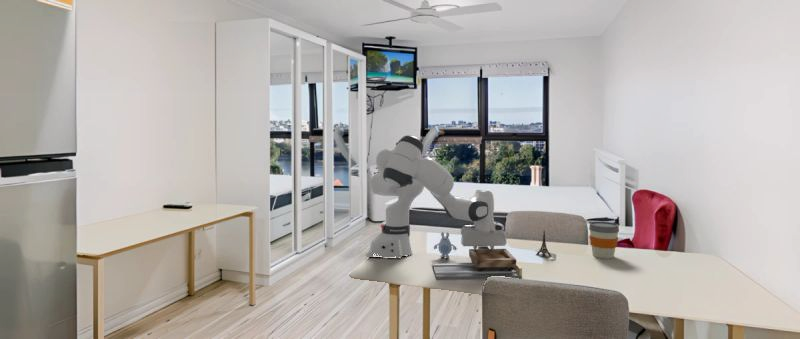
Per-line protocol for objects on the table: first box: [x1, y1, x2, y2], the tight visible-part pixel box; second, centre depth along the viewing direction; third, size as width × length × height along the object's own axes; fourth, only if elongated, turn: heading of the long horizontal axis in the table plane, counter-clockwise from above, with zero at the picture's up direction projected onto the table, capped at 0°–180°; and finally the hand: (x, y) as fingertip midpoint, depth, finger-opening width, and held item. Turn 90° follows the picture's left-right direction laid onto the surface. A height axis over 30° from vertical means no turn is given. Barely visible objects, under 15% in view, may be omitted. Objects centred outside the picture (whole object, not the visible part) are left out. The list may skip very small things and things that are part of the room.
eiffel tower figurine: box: [535, 230, 557, 262], centre depth 201 cm, size 15×10×13 cm
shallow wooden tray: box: [468, 248, 517, 272], centre depth 179 cm, size 16×16×6 cm
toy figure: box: [433, 231, 458, 259], centre depth 199 cm, size 11×6×12 cm, turn 77°
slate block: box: [477, 246, 490, 249], centre depth 195 cm, size 4×4×6 cm
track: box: [431, 262, 523, 280], centre depth 179 cm, size 34×18×4 cm, turn 91°
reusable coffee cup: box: [588, 221, 620, 259], centre depth 200 cm, size 13×12×15 cm
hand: (483, 255), depth 195 cm, fingers closed on slate block, 4 cm apart
